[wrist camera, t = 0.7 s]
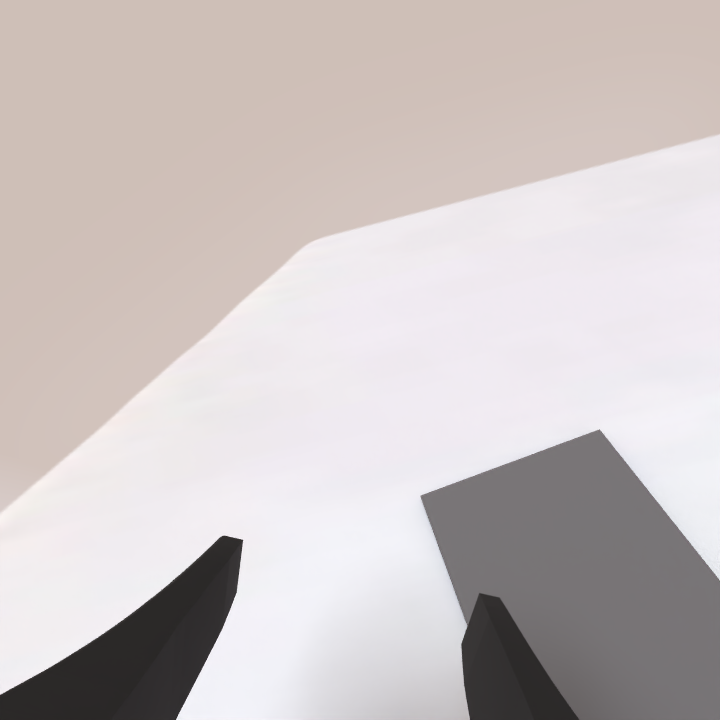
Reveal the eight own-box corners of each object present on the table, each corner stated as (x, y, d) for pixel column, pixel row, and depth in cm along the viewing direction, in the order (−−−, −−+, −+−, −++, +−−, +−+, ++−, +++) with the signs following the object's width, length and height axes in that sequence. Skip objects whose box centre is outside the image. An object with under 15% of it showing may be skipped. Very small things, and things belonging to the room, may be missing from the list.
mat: (846, 746, 17) (852, 747, 16) (546, 841, 17) (547, 844, 17) (598, 432, 28) (599, 429, 27) (421, 498, 28) (420, 495, 28)
